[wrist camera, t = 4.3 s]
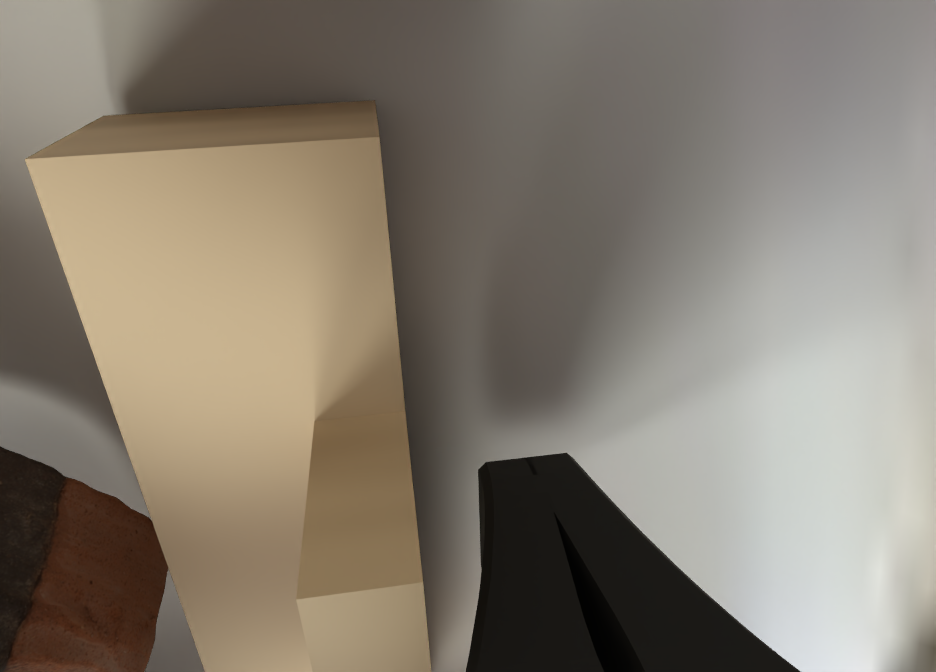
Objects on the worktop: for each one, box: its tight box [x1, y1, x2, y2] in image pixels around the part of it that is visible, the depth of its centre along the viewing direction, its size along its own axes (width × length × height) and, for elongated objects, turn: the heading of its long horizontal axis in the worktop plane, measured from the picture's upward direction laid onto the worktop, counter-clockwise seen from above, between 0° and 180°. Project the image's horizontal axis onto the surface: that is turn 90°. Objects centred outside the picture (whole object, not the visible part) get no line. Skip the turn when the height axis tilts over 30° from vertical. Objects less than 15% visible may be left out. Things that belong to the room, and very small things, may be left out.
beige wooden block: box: [25, 100, 431, 672], centre depth 8 cm, size 11×3×4 cm, turn 2°
